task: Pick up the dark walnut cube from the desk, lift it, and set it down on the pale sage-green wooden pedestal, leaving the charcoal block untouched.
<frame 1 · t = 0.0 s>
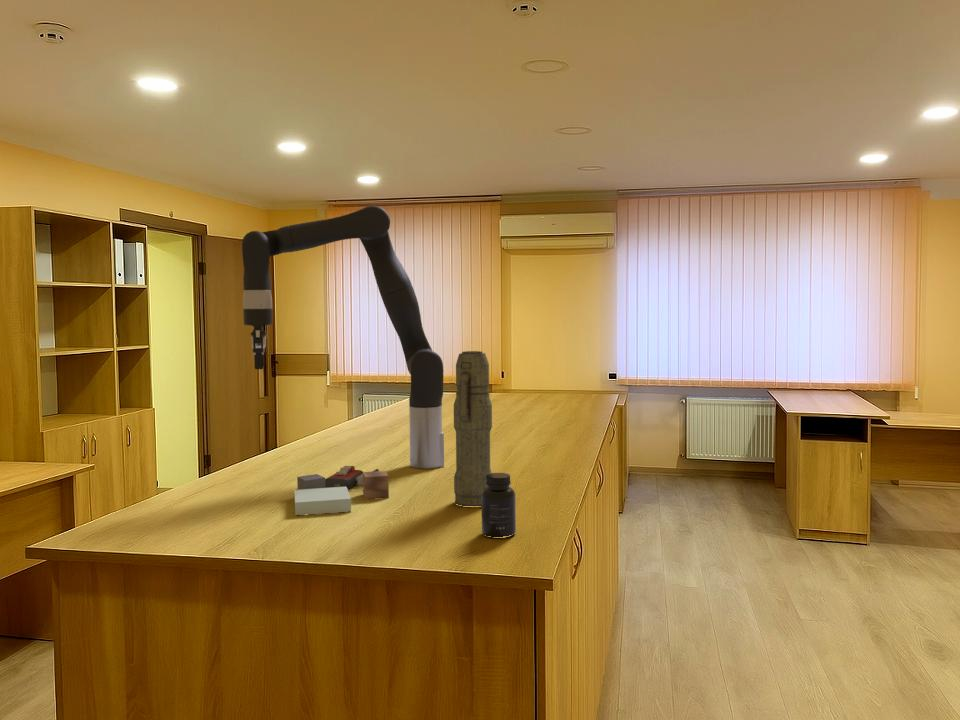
hand: (259, 368, 206), 29 cm above the countertop, tool pointing down, fingers open, 8 cm apart
walnut cube: (375, 496, 185), on the countertop
thermos: (473, 503, 177), on the countertop
walkie-talkie: (352, 483, 200), on the countertop
supplement bottle: (498, 535, 153), on the countertop
charcoal block: (311, 497, 184), on the countertop
pedestal: (322, 507, 175), on the countertop
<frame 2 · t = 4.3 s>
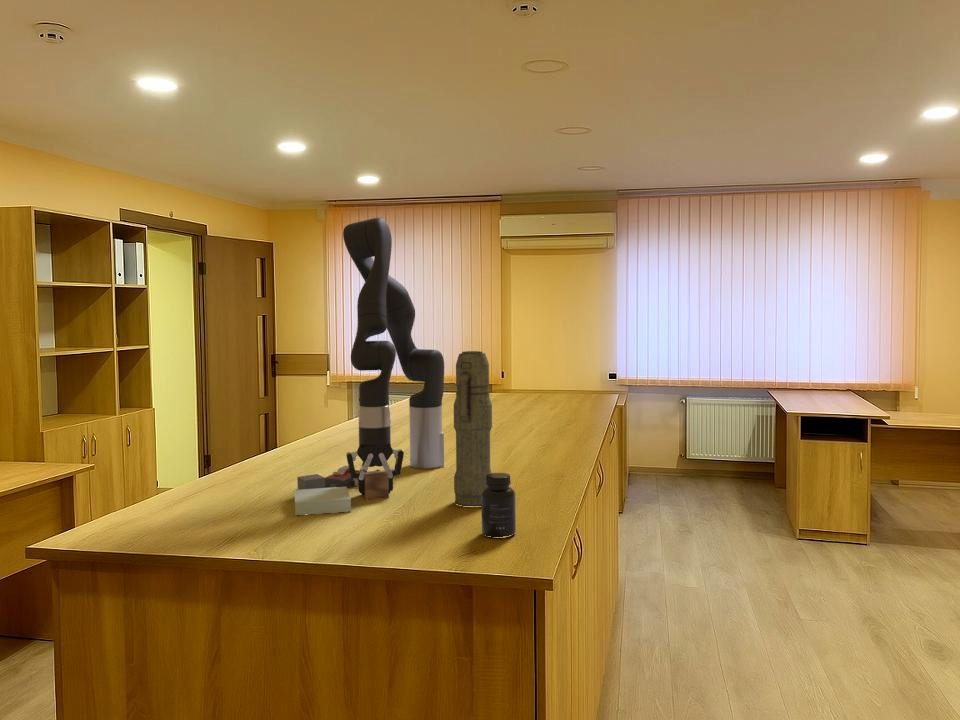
hand: (375, 493, 185), 1 cm above the countertop, tool pointing down, fingers closed on walnut cube, 5 cm apart
walnut cube: (375, 496, 185), on the countertop, touching gripper
when the fingers open (5 cm above the countertop, at t = 9.0 s): walnut cube drops 1 cm, resting on pedestal.
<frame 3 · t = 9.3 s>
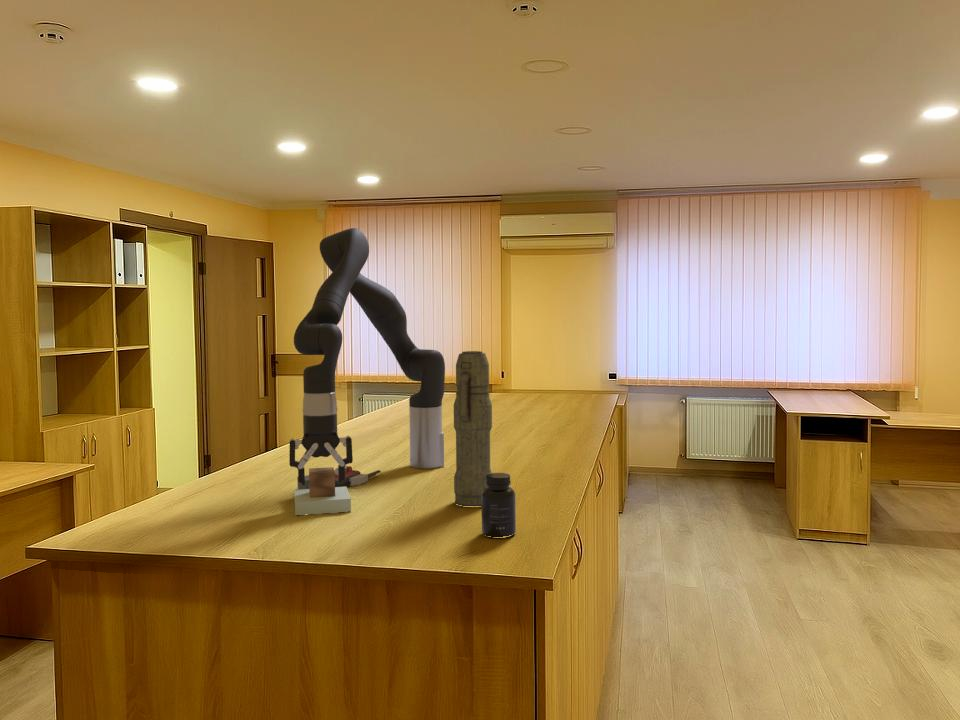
hand: (321, 483, 174), 6 cm above the countertop, tool pointing down, fingers open, 8 cm apart
walnut cube: (322, 494, 174), point 3 cm above the countertop, touching pedestal
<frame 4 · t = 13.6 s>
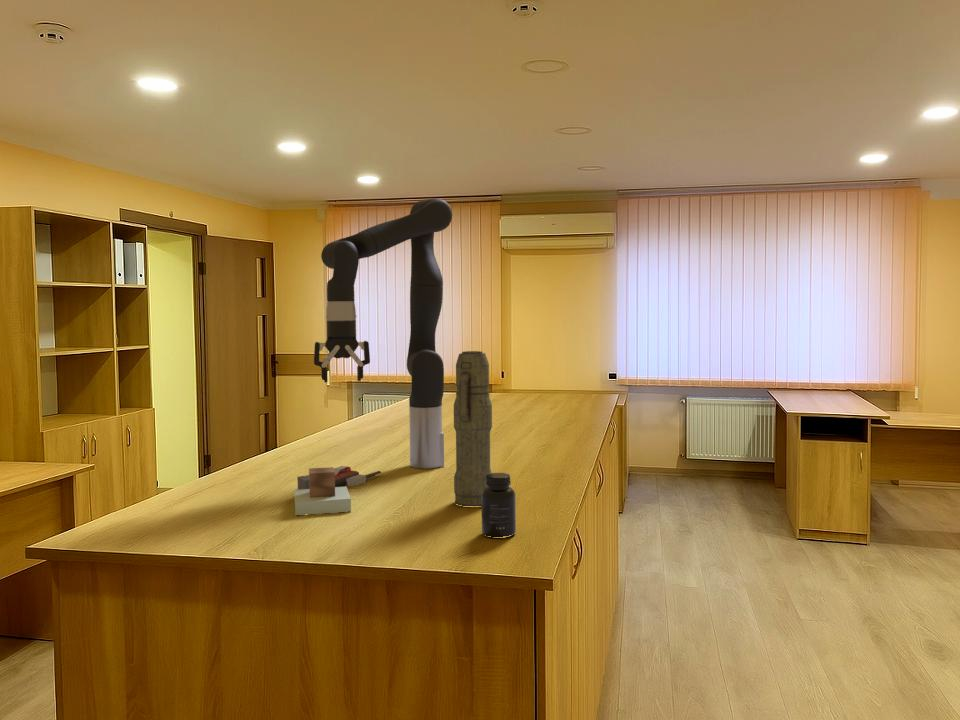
hand: (342, 381, 200), 26 cm above the countertop, tool pointing down, fingers open, 8 cm apart
at the end: walnut cube inside the target area on the pedestal (0.1 cm from its centre), point 3.0 cm above the pedestal's base; walnut cube tilted 0°; the gripper is holding nothing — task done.
